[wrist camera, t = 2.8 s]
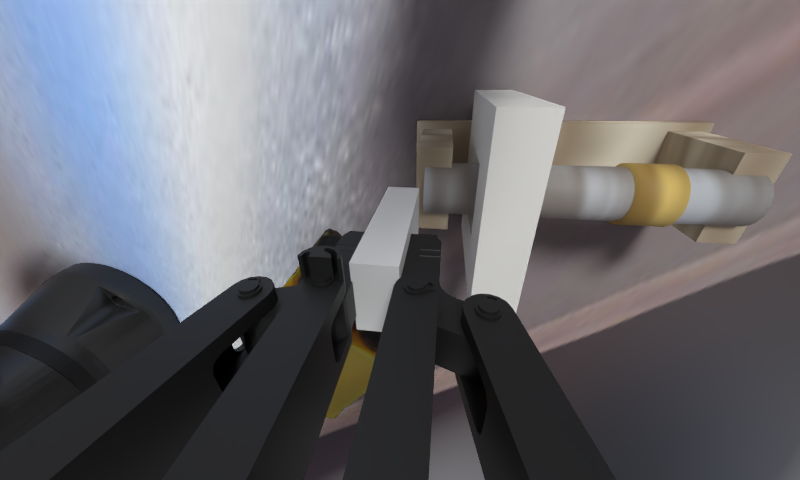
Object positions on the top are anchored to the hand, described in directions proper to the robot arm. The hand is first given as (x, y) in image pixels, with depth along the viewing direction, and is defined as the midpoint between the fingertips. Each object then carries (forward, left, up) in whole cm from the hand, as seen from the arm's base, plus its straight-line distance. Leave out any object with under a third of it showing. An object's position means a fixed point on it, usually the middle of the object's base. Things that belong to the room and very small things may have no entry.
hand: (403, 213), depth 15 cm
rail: (+9, 0, -10) cm, 14 cm away
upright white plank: (+5, 0, -10) cm, 11 cm away
